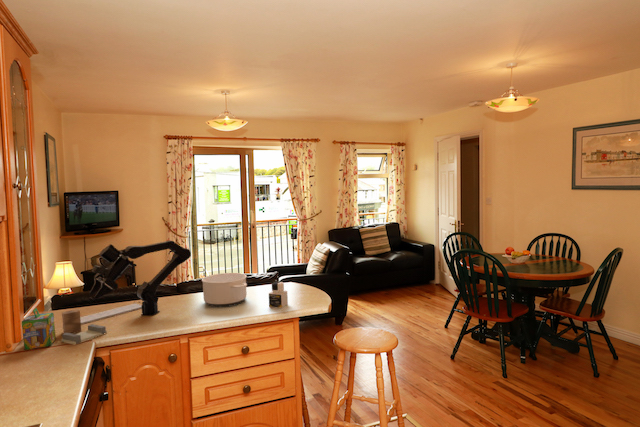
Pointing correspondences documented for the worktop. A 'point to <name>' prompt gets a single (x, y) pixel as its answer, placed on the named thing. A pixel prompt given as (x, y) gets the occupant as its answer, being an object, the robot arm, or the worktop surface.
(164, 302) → the worktop surface
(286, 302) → the medicine bottle
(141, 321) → the worktop surface
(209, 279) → the pot
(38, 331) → the chalk box
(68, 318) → the brown block
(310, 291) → the worktop surface
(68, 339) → the holder
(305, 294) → the worktop surface
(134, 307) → the baseboard
